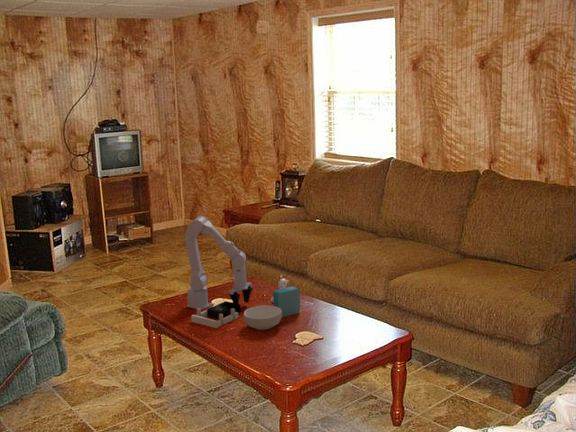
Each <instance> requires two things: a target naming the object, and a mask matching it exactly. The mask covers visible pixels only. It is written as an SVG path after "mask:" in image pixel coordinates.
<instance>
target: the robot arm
mask: <svg viewBox="0 0 576 432" xmlns="http://www.w3.org/2000/svg"><path fill="white" fill-rule="evenodd" d="M200 233H201V234H203V235H208V236H210V237H211V238H212V239H213V240H214V241H215V242H217V244H218V245H219V246H220V251H222V252H223V253H224V254H225V256H227V257H228V258H229V259H230V260H231V264H232V265H233V278H234V279H233V280H234V281H233V282H234V286H233V287H232V288H230V289H229V290H228V295H229V297H230V299H231V300H232V303H235V304H239V303H240V297H241V294H239V293H238V292H241V291H242V295H243V301H244V303H247V304H248V303H249V302H250V297H251V293H252V292H253V284H252V282H250V281H248V282H247V270H246V268H247V267H246V260H247V255H246V254H245V252H243V251H242V250H240V249H238V248H237V247H236V246H235V243H234V242H233V241H230V240H226V238H224V237H223V236H222V234H221V233H220V232H219V231H218V230H217V229H216V228H215V226H214V225H213V224H212V223H211V221H210V220H208V218H206V217H205V216H204V215H198V216H197V217H196V218H195V219H193V220H192V221H190V223H189V224H188V226H187V229H186V231H185V233H184V239H185V243H186V250H187V256H188V260H189V265H190V282H189V286H190V288H189V289H188V290H187V305H186V306H187V307H188V308H191V309H194V310H197V308H201V311H202V310H205V309H206V308H207V309H208V308H209V301H208V300H209V299H208V298H209V297H208V287H207V285H206V284H207V283H208V280H209V279H208V276H207V275H206V273H205V270H204V269H203V265H202V262H201V261H202V260H201V255H200V249H199V245H198V240H197V236H198V235H199V234H200Z"/></svg>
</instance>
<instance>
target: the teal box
mask: <svg viewBox="0 0 576 432" xmlns="http://www.w3.org/2000/svg"><path fill="white" fill-rule="evenodd" d="M272 298H273V301H274V303H273V306H275V307H278V308H280V309H281V311H282V317H281V319H282V318H285V317H290V316H292V315H293V316H294V315H296V314H299V313H300V311H301V291H300V289H299V288H297V287H295V286H288V287H286V288H284V289H280V290H279V289H277V290H274V292H273V295H272Z"/></svg>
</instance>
